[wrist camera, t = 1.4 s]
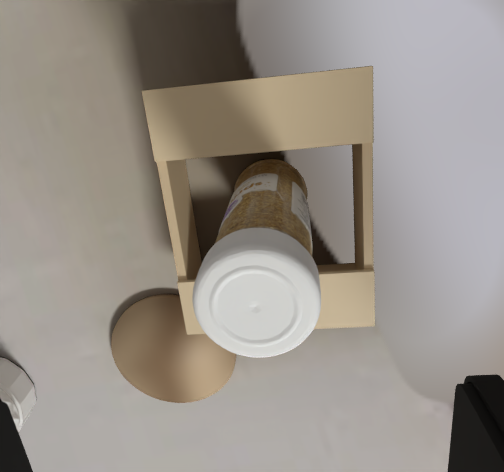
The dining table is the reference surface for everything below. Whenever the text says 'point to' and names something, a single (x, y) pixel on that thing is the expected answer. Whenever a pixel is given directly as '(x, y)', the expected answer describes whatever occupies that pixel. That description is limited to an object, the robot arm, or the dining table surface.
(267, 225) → the sprinkles bottle
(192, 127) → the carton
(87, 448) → the dining table surface
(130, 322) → the coaster
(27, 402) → the white cup
